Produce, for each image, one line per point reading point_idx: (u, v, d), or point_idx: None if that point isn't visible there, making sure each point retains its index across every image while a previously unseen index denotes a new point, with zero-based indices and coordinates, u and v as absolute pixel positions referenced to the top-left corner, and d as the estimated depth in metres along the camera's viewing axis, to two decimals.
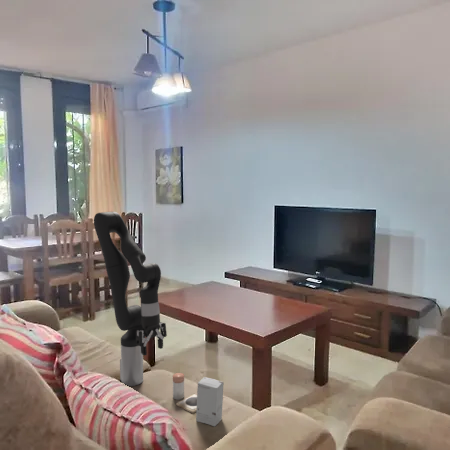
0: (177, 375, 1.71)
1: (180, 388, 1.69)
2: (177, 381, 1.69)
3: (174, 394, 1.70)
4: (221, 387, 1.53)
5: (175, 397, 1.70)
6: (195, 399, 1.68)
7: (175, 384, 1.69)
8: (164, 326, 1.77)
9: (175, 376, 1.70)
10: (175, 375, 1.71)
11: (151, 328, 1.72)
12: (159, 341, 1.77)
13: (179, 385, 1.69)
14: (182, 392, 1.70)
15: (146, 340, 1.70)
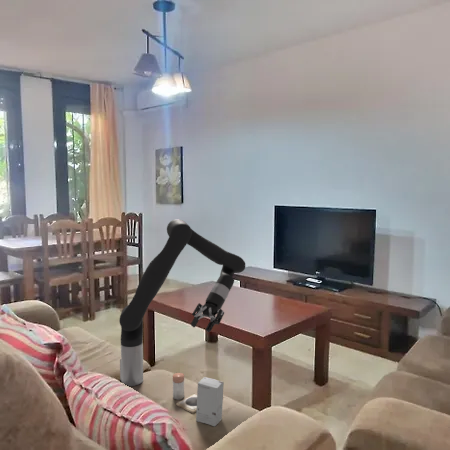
0: (177, 375, 1.71)
1: (180, 388, 1.69)
2: (177, 381, 1.69)
3: (174, 394, 1.70)
4: (221, 387, 1.53)
5: (175, 397, 1.70)
6: (195, 399, 1.68)
7: (175, 384, 1.69)
8: None
9: (175, 376, 1.70)
10: (175, 375, 1.71)
11: None
12: (196, 320, 1.82)
13: (179, 385, 1.69)
14: (182, 392, 1.70)
15: (215, 319, 1.79)
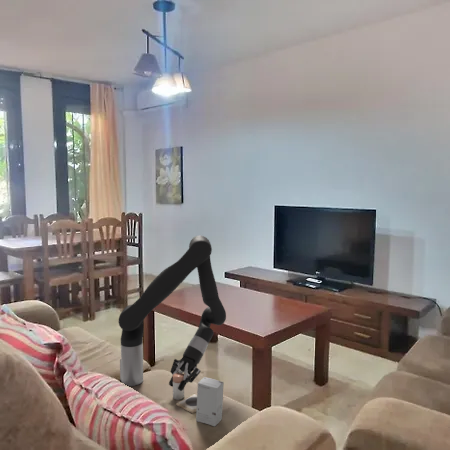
0: (177, 374, 1.71)
1: None
2: (177, 381, 1.69)
3: (174, 394, 1.70)
4: (221, 387, 1.53)
5: (175, 397, 1.70)
6: (195, 399, 1.68)
7: (175, 384, 1.69)
8: None
9: (175, 376, 1.70)
10: (175, 375, 1.71)
11: None
12: None
13: None
14: (182, 392, 1.70)
15: None
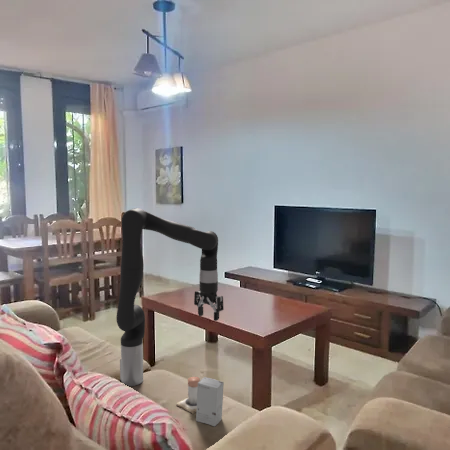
0: (192, 378, 1.66)
1: (195, 393, 1.64)
2: (192, 385, 1.63)
3: (189, 398, 1.65)
4: (221, 387, 1.53)
5: (190, 402, 1.64)
6: None
7: (191, 388, 1.64)
8: None
9: (190, 380, 1.65)
10: (190, 379, 1.66)
11: None
12: (201, 308, 1.79)
13: (194, 390, 1.64)
14: None
15: None
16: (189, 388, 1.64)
